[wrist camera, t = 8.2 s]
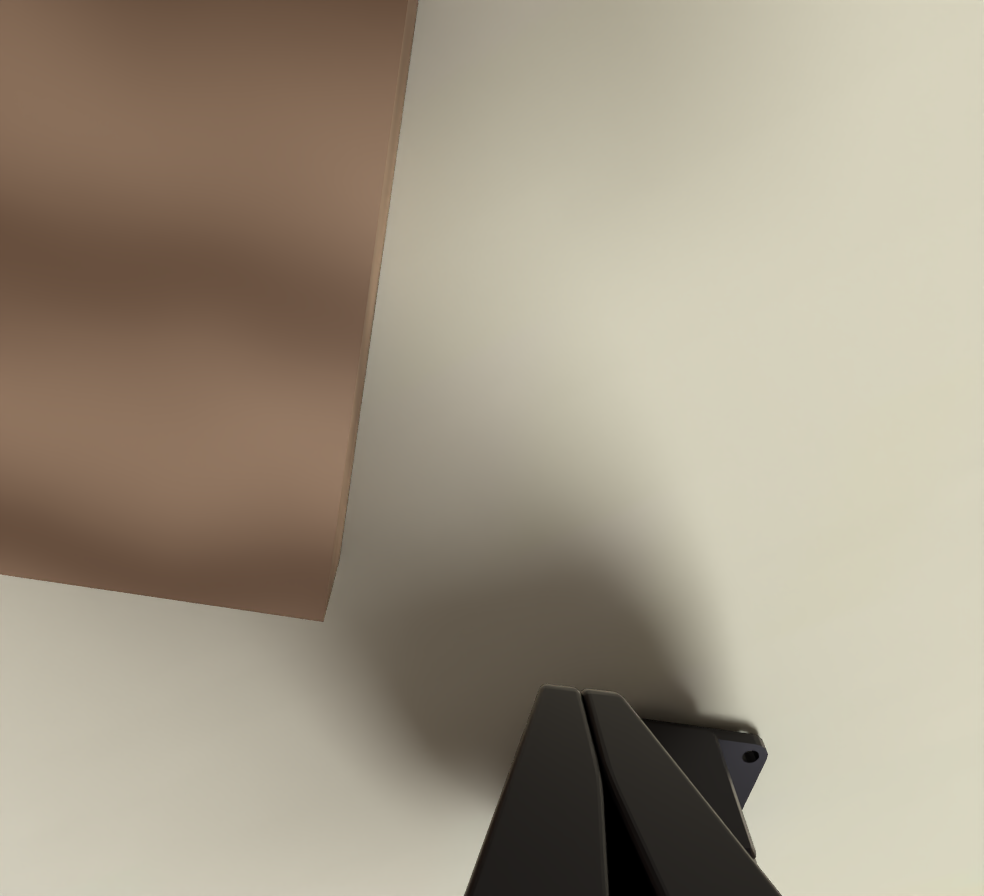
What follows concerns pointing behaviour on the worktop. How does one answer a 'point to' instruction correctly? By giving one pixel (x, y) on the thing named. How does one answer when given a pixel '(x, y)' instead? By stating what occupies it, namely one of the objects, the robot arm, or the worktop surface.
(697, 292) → the worktop surface
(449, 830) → the worktop surface
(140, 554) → the walnut ledge
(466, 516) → the worktop surface
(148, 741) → the worktop surface
